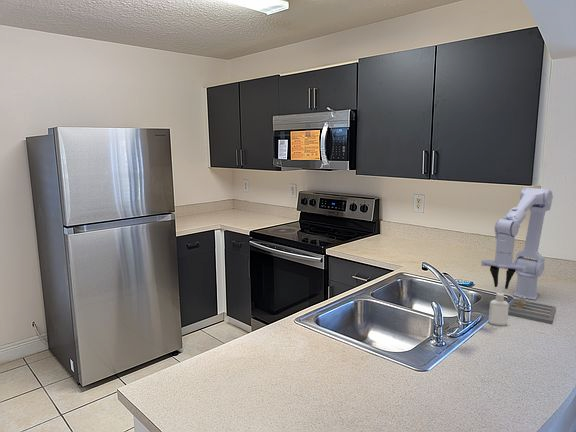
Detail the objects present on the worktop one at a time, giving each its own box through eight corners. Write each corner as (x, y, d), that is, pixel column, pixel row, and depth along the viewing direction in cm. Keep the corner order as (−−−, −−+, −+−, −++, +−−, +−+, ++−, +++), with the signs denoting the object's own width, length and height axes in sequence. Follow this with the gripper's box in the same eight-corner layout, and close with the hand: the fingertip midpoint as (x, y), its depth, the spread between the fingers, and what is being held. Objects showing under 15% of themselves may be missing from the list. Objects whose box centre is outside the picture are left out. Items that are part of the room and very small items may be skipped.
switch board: (513, 301, 160) (513, 296, 160) (555, 309, 152) (556, 304, 151) (506, 314, 147) (506, 308, 147) (551, 324, 139) (552, 318, 139)
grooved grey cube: (519, 301, 155) (520, 294, 155) (525, 302, 154) (526, 295, 154) (518, 303, 154) (519, 295, 153) (524, 304, 153) (525, 297, 152)
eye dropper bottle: (504, 327, 136) (508, 293, 134) (486, 323, 140) (489, 289, 138) (508, 323, 139) (511, 290, 137) (490, 319, 143) (493, 286, 141)
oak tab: (516, 307, 150) (517, 299, 149) (522, 308, 149) (523, 300, 148) (515, 308, 148) (516, 301, 148) (522, 310, 147) (522, 302, 147)
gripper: (480, 250, 150) (477, 286, 152) (525, 257, 142) (521, 294, 144) (484, 247, 156) (482, 281, 158) (528, 253, 147) (524, 288, 149)
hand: (501, 287), depth 151 cm, fingers open, 3 cm apart
